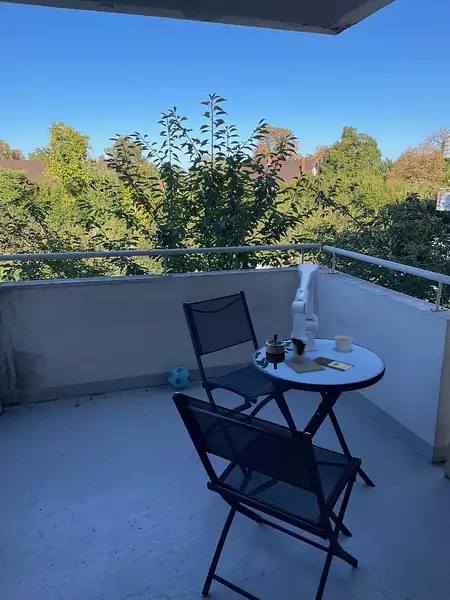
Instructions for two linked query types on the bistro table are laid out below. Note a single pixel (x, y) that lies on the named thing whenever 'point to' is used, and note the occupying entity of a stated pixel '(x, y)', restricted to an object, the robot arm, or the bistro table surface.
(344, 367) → the chocolate bar
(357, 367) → the bistro table surface
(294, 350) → the ash tile
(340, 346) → the candle
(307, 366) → the rubber mat
